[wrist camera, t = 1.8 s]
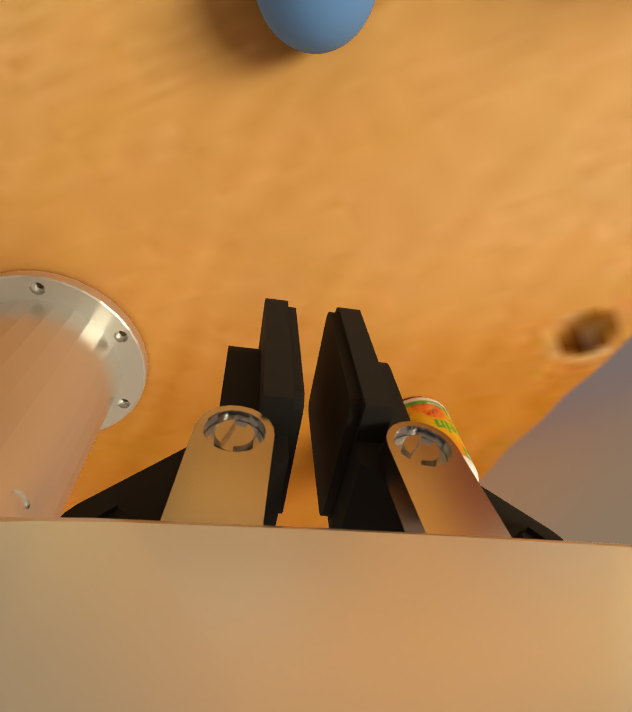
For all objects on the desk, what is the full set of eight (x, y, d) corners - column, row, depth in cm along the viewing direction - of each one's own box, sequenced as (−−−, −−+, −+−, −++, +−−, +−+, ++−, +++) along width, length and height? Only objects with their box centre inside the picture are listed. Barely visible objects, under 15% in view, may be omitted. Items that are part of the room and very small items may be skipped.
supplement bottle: (460, 418, 39) (512, 515, 31) (410, 456, 41) (446, 557, 32) (419, 383, 37) (462, 476, 28) (368, 425, 38) (394, 524, 30)
